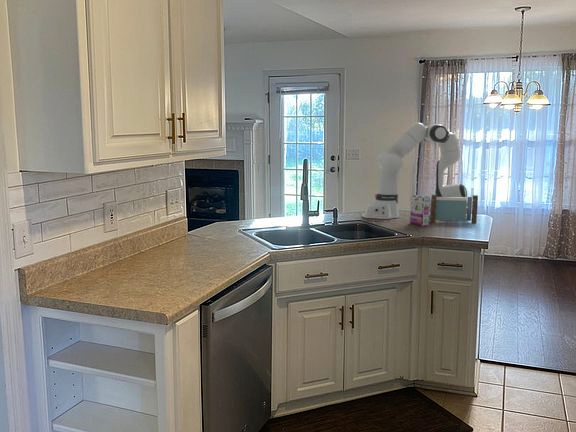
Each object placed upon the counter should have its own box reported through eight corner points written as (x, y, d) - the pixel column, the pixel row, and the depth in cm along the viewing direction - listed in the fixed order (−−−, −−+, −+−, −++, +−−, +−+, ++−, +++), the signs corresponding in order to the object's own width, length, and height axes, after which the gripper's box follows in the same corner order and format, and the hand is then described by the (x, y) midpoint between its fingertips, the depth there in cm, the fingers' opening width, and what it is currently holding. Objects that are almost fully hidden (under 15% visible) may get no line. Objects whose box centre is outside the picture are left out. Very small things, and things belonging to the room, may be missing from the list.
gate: (430, 219, 322) (431, 196, 320) (429, 218, 325) (430, 195, 323) (471, 220, 318) (472, 197, 316) (470, 220, 321) (471, 196, 319)
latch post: (431, 222, 320) (432, 195, 318) (430, 222, 322) (431, 194, 320) (435, 223, 320) (436, 195, 317) (435, 222, 322) (436, 194, 320)
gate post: (472, 223, 318) (473, 195, 316) (471, 222, 321) (472, 195, 319) (476, 223, 318) (478, 195, 315) (475, 222, 321) (477, 195, 318)
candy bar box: (429, 225, 311) (430, 196, 309) (422, 226, 309) (423, 196, 307) (416, 222, 321) (417, 194, 319) (409, 223, 319) (410, 194, 317)
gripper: (438, 201, 344) (431, 203, 332) (472, 203, 333) (466, 206, 322) (437, 211, 345) (431, 214, 333) (471, 213, 334) (466, 216, 323)
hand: (448, 210), depth 327 cm, fingers closed
